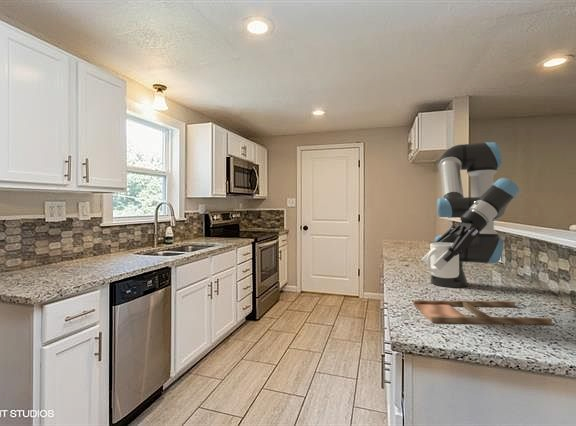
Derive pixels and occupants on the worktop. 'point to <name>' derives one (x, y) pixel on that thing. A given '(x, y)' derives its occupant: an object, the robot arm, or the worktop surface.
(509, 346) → the worktop surface
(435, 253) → the mug
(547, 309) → the worktop surface
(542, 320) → the flat wooden frame
